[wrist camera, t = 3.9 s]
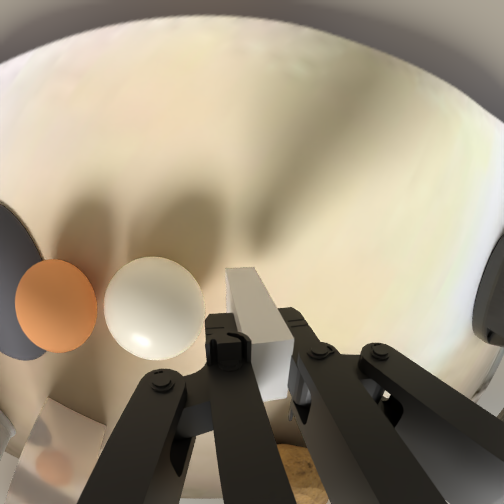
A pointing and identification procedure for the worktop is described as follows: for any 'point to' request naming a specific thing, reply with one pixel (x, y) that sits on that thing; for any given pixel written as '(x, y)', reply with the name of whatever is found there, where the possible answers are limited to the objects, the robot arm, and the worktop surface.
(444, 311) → the worktop surface
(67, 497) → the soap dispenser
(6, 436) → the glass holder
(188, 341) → the cue ball
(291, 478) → the potato
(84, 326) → the object ball
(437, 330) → the worktop surface
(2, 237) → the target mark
